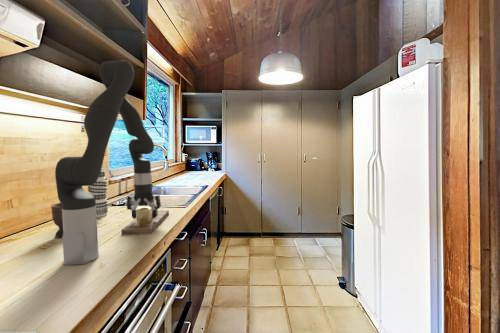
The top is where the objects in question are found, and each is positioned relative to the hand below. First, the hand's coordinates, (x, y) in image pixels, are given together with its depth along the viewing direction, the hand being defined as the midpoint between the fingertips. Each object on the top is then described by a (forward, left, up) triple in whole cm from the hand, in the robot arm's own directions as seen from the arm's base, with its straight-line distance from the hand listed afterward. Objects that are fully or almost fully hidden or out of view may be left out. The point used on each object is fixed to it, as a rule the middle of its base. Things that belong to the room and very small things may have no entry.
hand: (144, 218), depth 123 cm
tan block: (-3, 0, -2) cm, 3 cm away
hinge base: (+5, 0, -4) cm, 6 cm away
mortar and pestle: (-10, +27, -4) cm, 29 cm away
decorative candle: (+23, +31, -4) cm, 39 cm away
